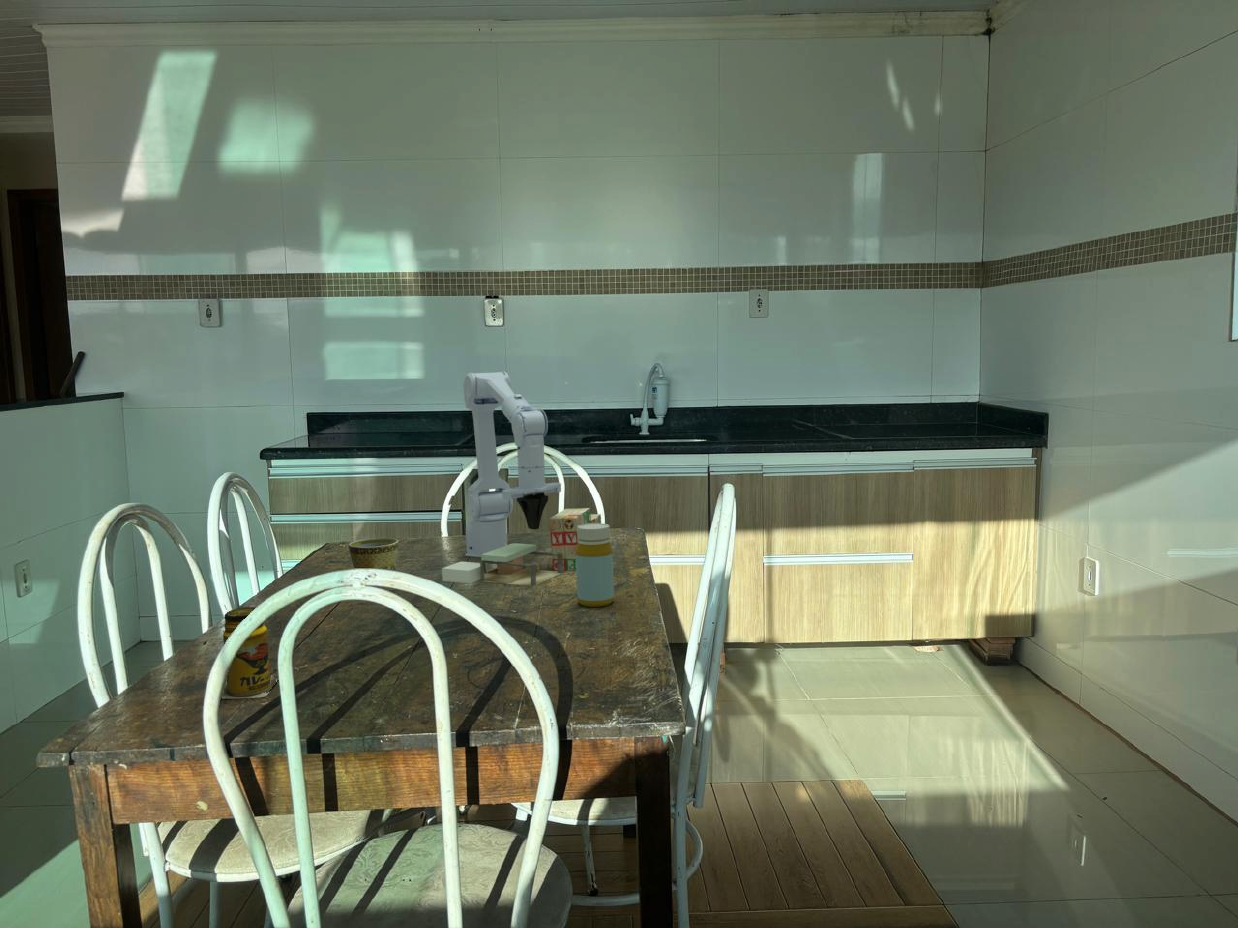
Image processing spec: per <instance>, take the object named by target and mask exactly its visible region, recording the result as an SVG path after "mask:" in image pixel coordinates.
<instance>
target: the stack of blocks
mask: <svg viewBox="0 0 1238 928" xmlns="http://www.w3.org/2000/svg"><path fill="white" fill-rule="evenodd" d="M589 523H602V515H601V513H597V514H596V513H595V514H594V513H593V514H592V513H591V508H590V507H584V508H583V507H582V508H564V509H563V510H561V511H559V512H558V513H556V514H555V515H554V516H551V517H550V518H549V531H550V533H549V534H550V542H551V543H550V544H551V545H550V546H551V553H562V561H563V572H565V571H566V572H569V571H571V572H577V570H576V549H577V545H578V536H577V527H578V526H579V525H582V524H589ZM552 569H553V570H552V571H558V562H557V556H552Z"/></svg>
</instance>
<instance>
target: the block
mask: <svg viewBox="0 0 1238 928" xmlns="http://www.w3.org/2000/svg"><path fill="white" fill-rule="evenodd" d="M523 558H524V555H523V556H521V557H518V558H516V559H513V560H511V561H508V563H520V564H523V563H524V559H523ZM496 562H498V561H496ZM496 565H497V564H496ZM496 567H497V569H498V574H504V575H510V574H512V573H515V572H517V571H520V570H522V569H523V567H522V566H509V565H497V566H496Z"/></svg>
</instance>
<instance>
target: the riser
mask: <svg viewBox="0 0 1238 928" xmlns="http://www.w3.org/2000/svg"><path fill="white" fill-rule="evenodd" d="M488 567H489V564H486V571H488V570H489V568H488ZM441 575H442V576H441V577H442V580H441V581H442V582H447V583H449V582H450V583H461V584H472V583H475V582H477V581H481V570H480V562H470V561H459V562H455V563H453V564H450V565H446V566H445V567H442V568H441Z"/></svg>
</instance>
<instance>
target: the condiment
mask: <svg viewBox="0 0 1238 928" xmlns="http://www.w3.org/2000/svg"><path fill="white" fill-rule="evenodd" d="M255 608H256V606H255V607H254V606H250V607H249V606H248V607H247V606H245V607H239V608H238V607H237V608H235V609H231V610H228V611H227V612H226V613H225V614H224V631H223V634H222V638H223V645H224V644H225V642H226V640H227V639H228V637H229V636H230V635H231V633H232V632H233V631H234V630H235V629H236V627H237V625H238V624H239V623H240V622H241V621H242V620H243V619H245V618H246V617H247V616H248V615H249V614H250V612H251V611H253V610H254V609H255ZM268 636H269V635H268V628H267V626H265V621H264V622H263V623H262V624H261V625H260V626H259V627H258V628H257V629H256V630H255V631H254V632H253V633H252V634H251V636H250V637H249V638H248V639H247V640H246V641H245V642H244V644H243V645H242V646H241V648H240V649H239V650H238V651H237V653H236V657H235V658H234V660H233V662H232V665H231V667H230V669H229V672H228V675H227V678H226V680H225V681H226V683H225V688H224V693H223V697H222V699H221V700H226V699H254V698H265V697H267V696H268V695H269V694H270V692H268V693H266V690H268V689H269V688H270V687H271V684H270V683H271V680H272V676H271V665H270V650H269V637H268ZM275 679H276V682H277V679H278V678H275ZM277 683H278V682H277ZM264 692H265V693H264Z"/></svg>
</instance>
